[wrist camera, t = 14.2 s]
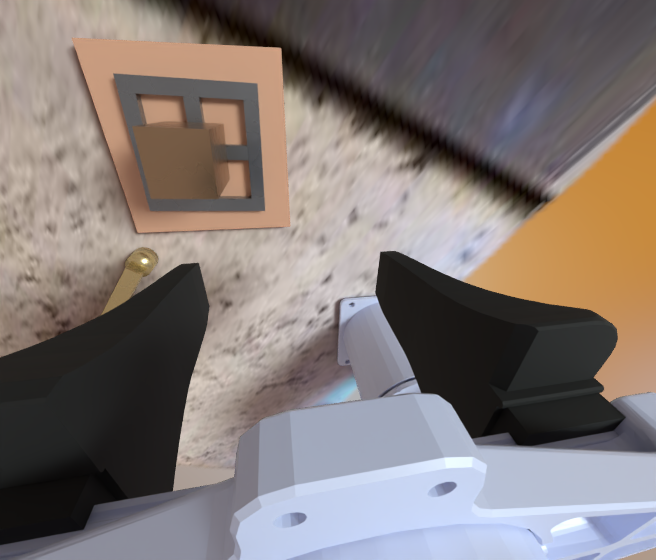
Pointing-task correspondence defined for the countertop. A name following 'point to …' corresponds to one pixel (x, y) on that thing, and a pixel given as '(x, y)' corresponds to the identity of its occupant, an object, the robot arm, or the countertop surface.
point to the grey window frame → (192, 145)
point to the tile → (193, 64)
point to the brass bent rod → (132, 276)
